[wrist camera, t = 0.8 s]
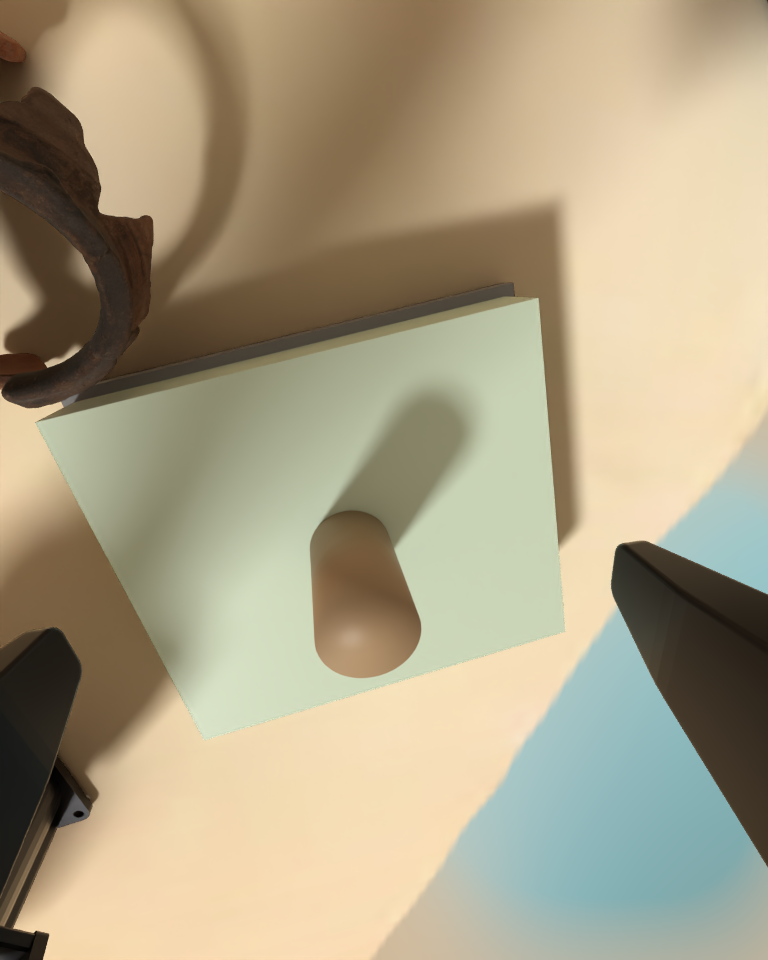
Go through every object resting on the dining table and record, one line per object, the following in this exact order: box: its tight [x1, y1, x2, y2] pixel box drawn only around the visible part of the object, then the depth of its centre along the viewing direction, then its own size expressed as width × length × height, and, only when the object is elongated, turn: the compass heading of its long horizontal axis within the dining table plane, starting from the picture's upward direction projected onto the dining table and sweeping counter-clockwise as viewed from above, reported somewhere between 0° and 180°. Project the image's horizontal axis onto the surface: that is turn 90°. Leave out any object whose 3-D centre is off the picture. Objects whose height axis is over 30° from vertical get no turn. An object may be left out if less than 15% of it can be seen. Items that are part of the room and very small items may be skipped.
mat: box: [61, 283, 515, 407], centre depth 21 cm, size 15×17×1 cm
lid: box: [35, 296, 565, 740], centre depth 17 cm, size 14×16×8 cm
